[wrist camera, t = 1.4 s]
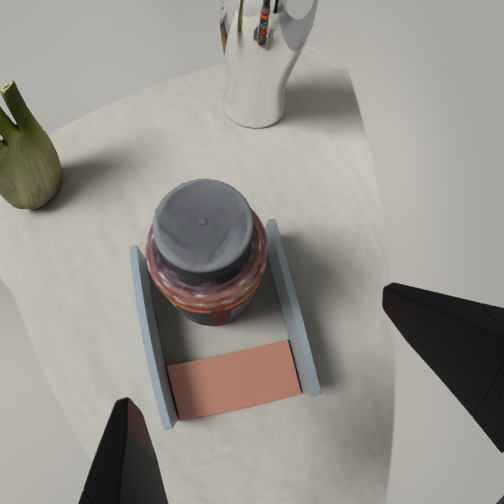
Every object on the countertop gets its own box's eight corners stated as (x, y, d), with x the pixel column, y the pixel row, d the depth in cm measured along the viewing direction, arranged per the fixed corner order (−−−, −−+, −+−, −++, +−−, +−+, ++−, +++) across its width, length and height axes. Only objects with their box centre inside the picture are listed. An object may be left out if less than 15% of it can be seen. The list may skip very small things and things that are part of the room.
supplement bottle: (261, 258, 24) (294, 177, 13) (243, 336, 22) (264, 318, 11) (184, 238, 23) (159, 146, 13) (161, 314, 21) (107, 275, 11)
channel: (308, 389, 21) (321, 394, 18) (171, 420, 19) (164, 429, 16) (268, 234, 24) (275, 218, 21) (139, 260, 23) (129, 246, 20)
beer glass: (229, 78, 30) (239, -47, 15) (293, 94, 30) (328, -30, 15) (207, 122, 27) (207, -24, 13) (280, 140, 27) (320, -5, 13)
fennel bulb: (68, 159, 25) (15, 69, 14) (71, 202, 24) (3, 112, 12) (20, 182, 24) (-44, 106, 12) (20, 225, 22) (-59, 154, 11)
